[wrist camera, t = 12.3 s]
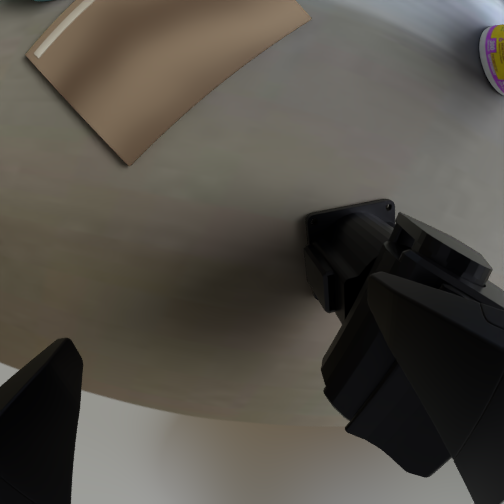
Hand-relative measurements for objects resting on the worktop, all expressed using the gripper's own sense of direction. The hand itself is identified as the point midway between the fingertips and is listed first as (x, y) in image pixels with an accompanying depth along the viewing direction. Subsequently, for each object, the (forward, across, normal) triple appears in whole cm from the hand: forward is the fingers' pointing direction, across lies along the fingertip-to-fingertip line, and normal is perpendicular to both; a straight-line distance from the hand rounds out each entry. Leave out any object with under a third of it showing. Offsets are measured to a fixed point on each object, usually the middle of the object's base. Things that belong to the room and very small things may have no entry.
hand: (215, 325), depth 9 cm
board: (+12, +1, -12) cm, 17 cm away
